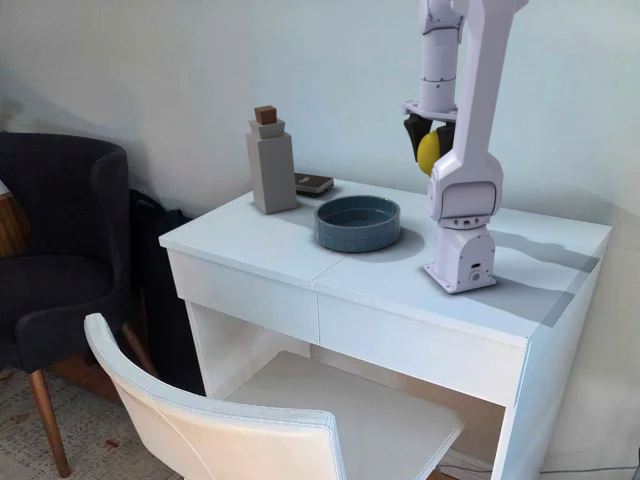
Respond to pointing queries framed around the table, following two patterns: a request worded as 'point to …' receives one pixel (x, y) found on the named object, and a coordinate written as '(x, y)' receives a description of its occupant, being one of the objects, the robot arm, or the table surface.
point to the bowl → (357, 223)
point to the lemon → (428, 152)
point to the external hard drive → (312, 184)
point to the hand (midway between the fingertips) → (433, 164)
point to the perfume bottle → (271, 162)
